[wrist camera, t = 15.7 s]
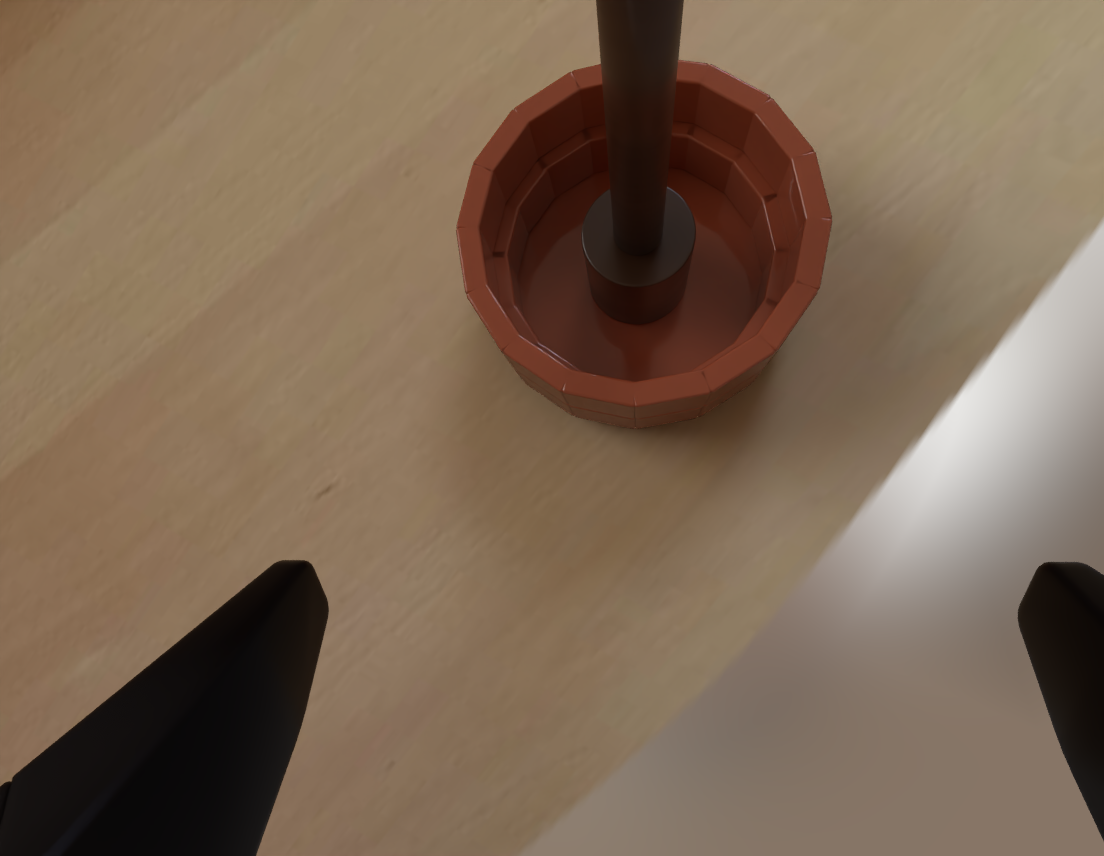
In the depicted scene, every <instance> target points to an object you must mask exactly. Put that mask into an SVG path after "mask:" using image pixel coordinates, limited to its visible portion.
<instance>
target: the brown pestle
mask: <svg viewBox="0 0 1104 856" xmlns="http://www.w3.org/2000/svg"><path fill="white" fill-rule="evenodd" d="M683 3H684V0H596V5H597V18H598V32H599V45H600V59H601V72H602V86H603V99H604V113H605V126H606V140H607V153H608V167H609V180H610V189H608V190H607V191H605V192H604V193H603V194H601V195H600V196H599V197H598V198H597V199H596V200H595V201H594V202H593V204H592V205H591V207H590V208H589V210H588V212H587V213H586V216H585V218H584V221H583V225H582V232H581V241H582V247H583V252H584V258H585V263H586V269H587V274H588V279H589V285H590V290H591V293H592V296H593V298H594V300H595V302H596V303H597V305H598V306H599V307H600V308H601V310H602V311H604V312H605V313H606V314H607V315H609V316H610V317H612V318H614V319H616V320H618V321H621V322H624V323H629V324H645V323H650V322H653V321H656V320H658V319H660V318H662V317H664V316H665V315H667V314H668V313H669V312H671V311H672V310H673V309H674V308H675V307H676V306H677V304H678V303H679V301H680V300H681V298H682V296H683V294H684V291H685V288H686V284H687V279H688V274H689V269H690V264H691V259H692V254H693V249H694V244H695V239H696V225H695V220H694V217H693V214H692V211H691V209H690V208H689V206H688V204H687V203H686V202H685V200H684V199H683V198H682V197H681V196H680V195H679V194H678V193H677V192H675V191H674V190H673V189H671V188H669V187H668V186H667V180H668V169H669V158H670V147H671V136H672V125H673V114H674V103H675V91H676V80H677V69H678V58H679V47H680V36H681V25H682V14H683Z"/></svg>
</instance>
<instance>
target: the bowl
mask: <svg viewBox="0 0 1104 856" xmlns="http://www.w3.org/2000/svg"><path fill="white" fill-rule="evenodd" d="M473 164H474V165H473V166H472V169H471V173H470V176H469V180H468V184H467V188H466V192H465V195H464V199H463V203H462V207H461V211H460V215H459V218H458V222H457V230H456V234H457V241H458V247H459V254H460V261H461V268H462V274H463V281H464V288H465V293H466V294H467V298H468V300H469V301H470V303H471V304H472V306H473V307H474V309H475V311H476V312H477V314H478V315H479V317H480V319H481V320H482V322H483V323H484V325H485V326H486V328H487V330H488V331H489V333H490V334H491V336H492V338H493V339H494V341H495V342H496V344H497V345H498V347H499V349H500V350H501V352H502V353H503V354H504V356H505V357H506V358H507V360H508V361H509V362H510V364H511V365H512V366H513V368H514V369H515V370H516V372H517V373H518V375H519V376H520V377H521V379H522V380H523V381H524V382H525V383H526V384H527V385H528V386H530V387H531V388H533V389H534V390H536V391H537V392H538V393H540V394H541V395H543V396H544V397H546V398H547V399H549V400H550V401H552V402H553V403H555V404H556V405H557V406H559V407H560V408H562V409H563V410H565V411H566V412H568V413H569V414H571V415H573V416H575V417H578V418H583V419H587V420H592V421H597V422H602V423H607V424H611V425H616V426H621V427H626V428H630V429H635V428H637V429H640V428H646V427H651V426H657V425H662V424H668V423H673V422H679V421H684V420H690V419H695V418H696V417H697V416H698V417H701V416H702V415H704V414H705V413H707V412H708V411H710V410H712V409H713V408H715V407H716V406H718V405H719V404H721V403H723V402H724V401H726V400H727V399H729V398H730V397H732V396H734V395H735V394H737V393H738V392H740V391H741V390H743V389H745V388H746V387H748V386H749V385H750V384H751V383H752V382H754V380H755V379H756V378H757V377H758V375H759V374H760V373H761V371H762V370H763V369H764V367H765V366H766V365H767V364H768V362H769V361H770V360H771V358H772V357H773V356H774V355H775V353H776V352H777V351H778V349H779V348H780V346H781V345H782V344H783V342H784V341H785V339H786V338H787V336H788V335H789V333H790V332H791V331H792V329H793V328H794V326H795V325H796V323H797V322H798V320H799V319H800V318H801V316H802V315H803V313H804V312H805V310H806V309H807V307H808V306H809V305H810V303H811V302H812V300H813V299H814V297H815V296H816V294H817V292H818V290H819V288H820V284H821V279H822V274H823V268H824V263H825V258H826V252H827V247H828V242H829V236H830V231H831V225H832V215H831V211H830V207H829V203H828V199H827V196H826V192H825V188H824V184H823V180H822V176H821V172H820V168H819V164H818V160H817V156H816V153H815V152H814V150H813V148H812V147H811V145H810V144H809V143H808V142H807V140H806V139H805V138H804V137H803V136H802V134H801V133H800V132H799V131H798V129H797V128H796V127H795V126H794V124H793V123H792V122H791V121H790V119H789V118H788V117H787V116H786V114H785V113H784V112H783V111H782V109H781V108H780V107H779V106H778V104H777V103H776V102H775V101H774V99H772V98H771V97H770V96H769V95H768V94H766V93H764V92H762V91H760V90H758V89H757V88H755V87H753V86H751V85H749V84H747V83H745V82H744V81H742V80H740V79H738V78H736V77H734V76H732V75H730V74H729V73H727V72H725V71H723V70H721V69H719V68H717V67H716V66H714V65H712V64H710V65H709V64H707V63H700V62H692V61H684V60H678V69H677V80H676V91H675V103H674V114H673V125H672V136H671V147H670V158H669V169H668V180H667V186H668V187H669V188H671V189H673V190H674V191H675V192H677V193H678V194H679V195H680V196H681V197H682V198H683V199H684V200H685V202H686V203H687V204H688V206H689V208H690V209H691V211H692V214H693V217H694V220H695V225H696V239H695V244H694V249H693V254H692V259H691V264H690V269H689V274H688V279H687V284H686V288H685V291H684V294H683V296H682V298H681V300H680V301H679V303H678V304H677V306H676V307H675V308H674V309H673V310H672V311H671V312H669V313H668V314H667V315H665V316H664V317H662V318H660V319H658V320H656V321H653V322H650V323H645V324H629V323H624V322H621V321H618V320H616V319H614V318H612V317H610V316H609V315H607V314H606V313H605V312H604V311H602V310H601V308H600V307H599V306H598V305H597V303H596V302H595V300H594V298H593V296H592V293H591V290H590V285H589V279H588V274H587V269H586V263H585V258H584V252H583V247H582V241H581V232H582V225H583V221H584V218H585V216H586V213H587V212H588V210H589V208H590V207H591V205H592V204H593V202H594V201H595V200H596V199H597V198H598V197H599V196H600V195H601V194H603V193H604V192H605V191H607V190H608V189H610V180H609V167H608V153H607V140H606V126H605V113H604V99H603V86H602V72H601V64H599V65H595V66H590V67H586V68H582V69H578V70H574V71H572V72H569V73H567V74H566V75H564V76H563V77H561V78H560V79H558V80H557V81H555V82H554V83H552V84H550V85H549V86H547V87H546V88H544V89H543V90H541V91H540V92H538V93H537V94H535V95H534V96H532V97H530V98H529V99H527V100H526V101H524V102H523V103H521V104H520V105H518V106H517V107H515V108H514V110H512V111H511V112H510V113H509V115H508V116H507V118H506V119H505V120H504V122H503V123H502V124H501V126H500V127H499V128H498V130H497V131H496V132H495V134H494V135H493V136H492V138H491V139H490V141H489V142H488V143H487V145H486V146H485V147H484V149H483V150H482V151H481V153H480V154H479V155H478V157H477V158H476V159H475V161H474V163H473Z"/></svg>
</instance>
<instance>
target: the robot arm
mask: <svg viewBox="0 0 1104 856" xmlns="http://www.w3.org/2000/svg"><path fill="white" fill-rule="evenodd" d="M328 612H329V607H328V601H327V598H326V595H325V593H324V591H323V588H322V586H321V584H320V581H319V579H318V577H317V574H316V572H315V569H314V567H313V566H312V564H311V563H309V562H308V561H305V560H282V561H278V562H276V563H274V564H273V565H272V566H270V567H269V568H268V569H267V570H265V571H264V572H263V573H262V574H261V575H259V576H258V577H257V578H256V579H254V580H253V581H252V582H251V583H249V584H248V585H247V586H246V587H245V588H243V589H242V590H241V591H240V592H238V593H237V594H236V595H235V596H234V597H232V598H231V599H230V600H229V601H227V602H226V603H225V604H224V605H223V606H221V607H220V608H219V609H218V610H216V611H215V612H214V613H213V614H211V615H210V616H209V617H208V618H207V619H205V620H204V621H203V622H202V623H200V624H199V625H198V626H197V627H196V628H194V629H193V630H192V631H191V632H189V633H188V634H187V635H186V636H184V637H183V638H182V639H181V640H180V641H178V642H177V643H176V644H175V645H173V646H172V647H171V648H170V649H169V650H167V651H166V652H165V653H164V654H162V655H161V656H160V657H159V658H158V659H156V660H155V661H154V662H153V663H151V664H150V665H149V666H148V667H146V668H145V669H144V670H143V671H142V672H140V673H139V674H138V675H137V676H135V677H134V678H133V679H132V680H131V681H129V682H128V683H127V684H126V685H124V686H123V687H122V688H121V689H120V690H118V691H117V692H116V693H115V694H113V695H112V696H111V697H110V698H108V699H107V700H106V701H105V702H104V703H102V704H101V705H100V706H99V707H97V708H96V709H95V710H94V711H93V712H91V713H90V714H89V715H88V716H86V717H85V718H84V719H83V720H82V721H80V722H79V723H78V724H77V725H75V726H74V727H73V728H72V729H70V730H69V731H68V732H67V733H66V734H64V735H63V736H62V737H61V738H59V739H58V740H57V741H56V742H55V743H53V744H52V745H51V746H50V747H48V748H47V749H46V750H45V751H43V752H42V753H41V754H40V755H39V756H37V757H36V758H35V759H34V760H32V761H31V762H30V763H29V764H28V765H26V766H25V767H24V768H23V769H21V770H20V771H19V772H18V773H16V774H15V775H14V777H13V779H12V782H10V781H9V782H5V783H4V784H3V785H1V786H0V856H256V854H257V851H258V848H259V845H260V843H261V840H262V837H263V834H264V831H265V828H266V826H267V823H268V820H269V817H270V814H271V812H272V809H273V806H274V803H275V800H276V798H277V795H278V792H279V789H280V786H281V783H282V781H283V778H284V775H285V772H286V769H287V767H288V764H289V761H290V758H291V755H292V752H293V750H294V747H295V744H296V741H297V738H298V735H299V732H300V729H301V726H302V722H303V718H304V714H305V711H306V707H307V703H308V699H309V694H310V690H311V686H312V682H313V678H314V674H315V669H316V665H317V661H318V657H319V653H320V649H321V645H322V640H323V636H324V632H325V628H326V624H327V619H328ZM1018 622H1019V627H1020V631H1021V634H1022V636H1023V639H1024V642H1025V645H1026V648H1027V651H1028V654H1029V657H1030V660H1031V663H1032V666H1033V669H1034V672H1035V674H1036V677H1037V680H1038V683H1039V686H1040V689H1041V692H1042V695H1043V698H1044V701H1045V703H1046V707H1047V710H1048V712H1049V715H1050V718H1051V721H1052V724H1053V727H1054V730H1055V732H1056V735H1057V738H1058V740H1059V743H1060V746H1061V749H1062V751H1063V754H1064V756H1065V758H1066V760H1067V763H1068V765H1069V767H1070V770H1071V772H1072V774H1073V776H1074V778H1075V780H1076V783H1077V785H1078V787H1079V789H1080V791H1081V793H1082V796H1083V798H1084V800H1085V802H1086V804H1087V806H1088V808H1089V810H1090V813H1091V815H1092V817H1093V819H1094V821H1095V823H1096V825H1097V828H1098V830H1099V832H1100V834H1101V836H1102V838H1103V840H1104V575H1103V574H1101V573H1100V572H1098V571H1096V570H1095V569H1093V568H1092V567H1090V566H1088V565H1086V564H1083V563H1079V562H1046V563H1044V564H1042V565H1041V566H1039V567H1038V569H1037V570H1036V572H1035V574H1034V576H1033V578H1032V580H1031V582H1030V585H1029V587H1028V589H1027V591H1026V593H1025V595H1024V597H1023V599H1022V601H1021V603H1020V606H1019V609H1018Z"/></svg>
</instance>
